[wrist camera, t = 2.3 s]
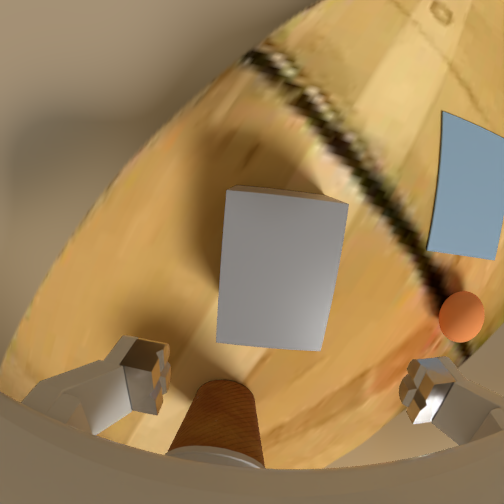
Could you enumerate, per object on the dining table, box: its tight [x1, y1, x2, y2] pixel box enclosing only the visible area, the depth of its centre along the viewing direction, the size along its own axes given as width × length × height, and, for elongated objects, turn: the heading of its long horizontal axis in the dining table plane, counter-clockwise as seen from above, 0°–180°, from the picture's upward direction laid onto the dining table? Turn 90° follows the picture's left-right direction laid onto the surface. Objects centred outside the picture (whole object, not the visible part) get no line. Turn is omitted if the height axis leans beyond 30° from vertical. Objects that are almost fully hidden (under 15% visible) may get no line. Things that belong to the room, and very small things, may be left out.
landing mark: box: [426, 111, 504, 260], centre depth 22 cm, size 13×10×1 cm
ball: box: [439, 291, 484, 342], centre depth 23 cm, size 5×5×5 cm
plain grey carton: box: [216, 185, 349, 351], centre depth 21 cm, size 10×7×7 cm
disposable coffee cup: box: [165, 380, 266, 469], centre depth 23 cm, size 10×10×12 cm
